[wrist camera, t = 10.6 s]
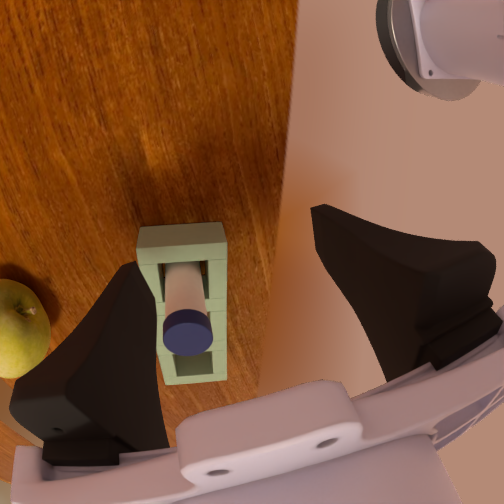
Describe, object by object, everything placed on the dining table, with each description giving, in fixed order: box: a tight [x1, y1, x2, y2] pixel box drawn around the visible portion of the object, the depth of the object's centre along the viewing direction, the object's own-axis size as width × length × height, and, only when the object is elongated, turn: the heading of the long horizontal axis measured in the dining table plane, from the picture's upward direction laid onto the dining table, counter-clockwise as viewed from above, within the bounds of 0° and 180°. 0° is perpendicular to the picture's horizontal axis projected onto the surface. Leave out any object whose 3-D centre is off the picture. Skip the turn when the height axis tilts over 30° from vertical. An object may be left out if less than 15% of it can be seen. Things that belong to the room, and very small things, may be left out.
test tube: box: [163, 261, 213, 356], centre depth 21 cm, size 3×3×8 cm
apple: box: [0, 279, 51, 378], centre depth 19 cm, size 8×9×8 cm
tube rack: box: [136, 222, 227, 385], centre depth 25 cm, size 15×6×3 cm, turn 177°
